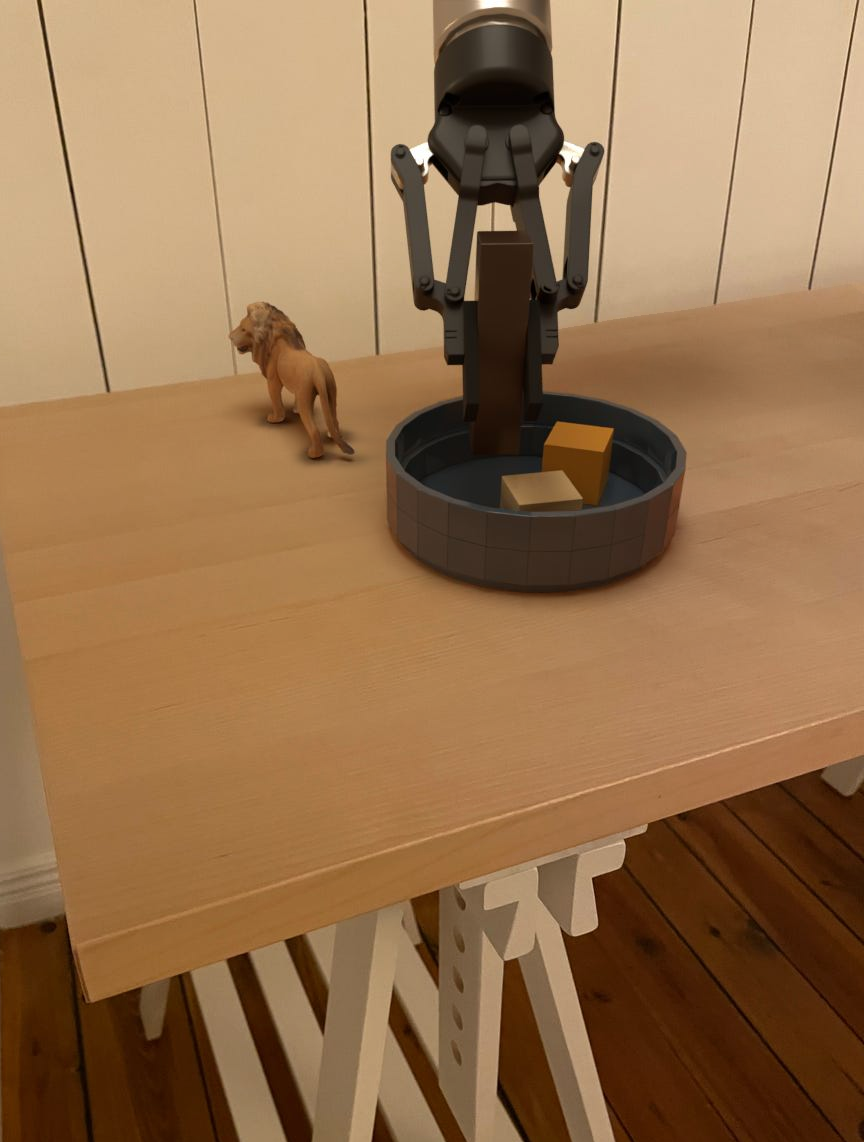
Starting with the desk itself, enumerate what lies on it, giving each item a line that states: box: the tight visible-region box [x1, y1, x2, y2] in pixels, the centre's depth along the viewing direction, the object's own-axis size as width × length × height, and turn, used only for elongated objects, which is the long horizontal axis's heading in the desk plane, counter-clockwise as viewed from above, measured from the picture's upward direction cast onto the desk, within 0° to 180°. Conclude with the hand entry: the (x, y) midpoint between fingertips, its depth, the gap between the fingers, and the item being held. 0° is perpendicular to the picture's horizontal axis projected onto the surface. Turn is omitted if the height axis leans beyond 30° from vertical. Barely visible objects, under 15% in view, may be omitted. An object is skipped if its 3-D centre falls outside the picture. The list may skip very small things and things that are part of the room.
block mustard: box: [542, 422, 614, 506], centre depth 69 cm, size 4×4×4 cm
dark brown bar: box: [469, 230, 534, 456], centre depth 62 cm, size 3×3×13 cm
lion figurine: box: [227, 301, 356, 459], centre depth 79 cm, size 15×5×9 cm, turn 36°
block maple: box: [500, 470, 583, 512], centre depth 63 cm, size 4×4×4 cm
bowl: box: [385, 390, 687, 593], centre depth 67 cm, size 19×19×6 cm
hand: (502, 412), depth 60 cm, fingers closed on dark brown bar, 3 cm apart
